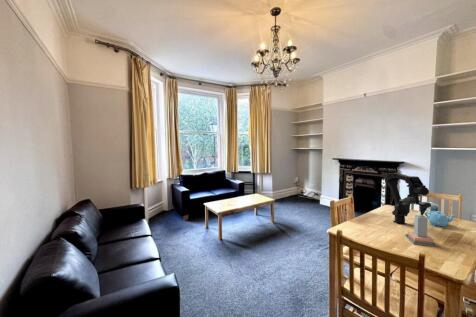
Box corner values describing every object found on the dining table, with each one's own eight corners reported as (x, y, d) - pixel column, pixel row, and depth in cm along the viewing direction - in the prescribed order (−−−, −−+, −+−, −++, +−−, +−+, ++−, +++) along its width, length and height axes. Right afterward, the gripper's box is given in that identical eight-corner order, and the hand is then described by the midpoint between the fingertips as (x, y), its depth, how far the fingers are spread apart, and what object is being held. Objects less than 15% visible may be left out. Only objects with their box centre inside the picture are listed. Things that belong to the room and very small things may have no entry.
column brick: (413, 233, 143) (414, 213, 142) (422, 234, 142) (423, 214, 141) (417, 236, 139) (418, 216, 138) (426, 237, 137) (427, 216, 136)
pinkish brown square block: (405, 236, 148) (405, 230, 148) (426, 238, 144) (426, 232, 144) (413, 244, 137) (413, 238, 136) (436, 246, 133) (436, 240, 133)
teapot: (423, 222, 172) (423, 209, 171) (440, 221, 172) (440, 208, 171) (438, 229, 159) (438, 215, 158) (456, 227, 159) (456, 213, 158)
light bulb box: (439, 217, 180) (439, 205, 180) (429, 217, 182) (430, 205, 181) (430, 213, 191) (430, 201, 190) (421, 213, 192) (422, 201, 191)
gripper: (393, 192, 163) (394, 212, 162) (419, 195, 145) (420, 218, 144) (404, 191, 165) (405, 211, 165) (431, 194, 147) (432, 217, 147)
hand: (414, 214), depth 155 cm, fingers open, 9 cm apart
